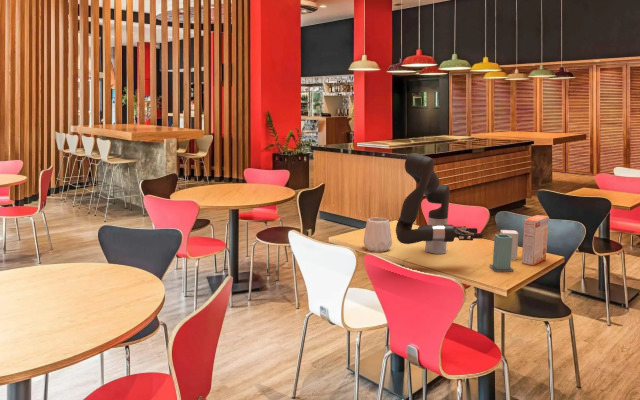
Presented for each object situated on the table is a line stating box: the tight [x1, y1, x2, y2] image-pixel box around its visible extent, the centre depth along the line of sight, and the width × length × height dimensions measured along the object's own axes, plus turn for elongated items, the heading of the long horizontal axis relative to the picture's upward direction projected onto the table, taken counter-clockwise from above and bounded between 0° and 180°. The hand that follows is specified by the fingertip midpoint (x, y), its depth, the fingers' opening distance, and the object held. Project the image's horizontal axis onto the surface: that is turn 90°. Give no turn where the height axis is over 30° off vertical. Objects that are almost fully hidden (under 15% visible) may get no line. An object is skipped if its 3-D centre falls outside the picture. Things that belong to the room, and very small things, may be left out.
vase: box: [363, 217, 393, 253], centre depth 264 cm, size 14×14×15 cm
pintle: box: [489, 263, 515, 273], centre depth 233 cm, size 8×8×8 cm
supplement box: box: [499, 229, 520, 261], centre depth 251 cm, size 7×7×13 cm
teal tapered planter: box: [492, 234, 512, 269], centre depth 232 cm, size 6×6×14 cm
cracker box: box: [521, 214, 550, 267], centre depth 244 cm, size 14×6×21 cm, turn 135°
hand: (479, 233), depth 231 cm, fingers open, 8 cm apart
